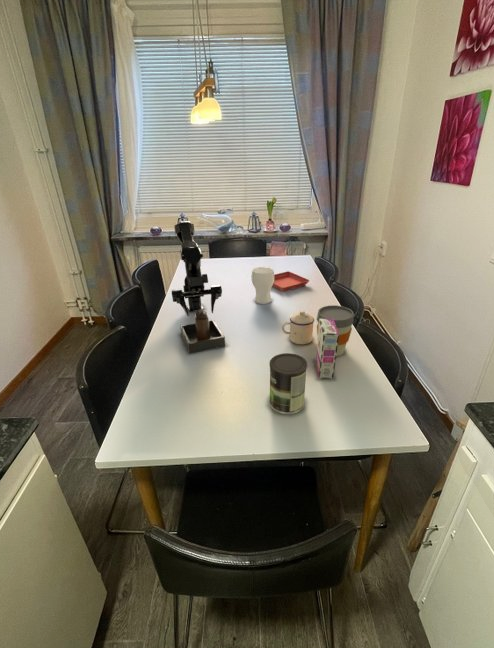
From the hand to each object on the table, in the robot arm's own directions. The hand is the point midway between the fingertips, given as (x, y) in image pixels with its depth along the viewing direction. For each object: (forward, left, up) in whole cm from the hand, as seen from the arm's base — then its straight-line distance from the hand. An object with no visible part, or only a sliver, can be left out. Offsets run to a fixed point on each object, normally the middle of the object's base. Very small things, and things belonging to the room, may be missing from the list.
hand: (200, 314), depth 131 cm
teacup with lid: (+15, +33, -10) cm, 38 cm away
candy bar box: (+37, +32, -10) cm, 50 cm away
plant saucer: (-40, +54, -10) cm, 68 cm away
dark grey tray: (+2, -1, -10) cm, 10 cm away
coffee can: (+48, +13, -10) cm, 51 cm away
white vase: (-25, +35, -10) cm, 44 cm away
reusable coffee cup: (+27, +41, -10) cm, 51 cm away
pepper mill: (+4, -1, -10) cm, 11 cm away
